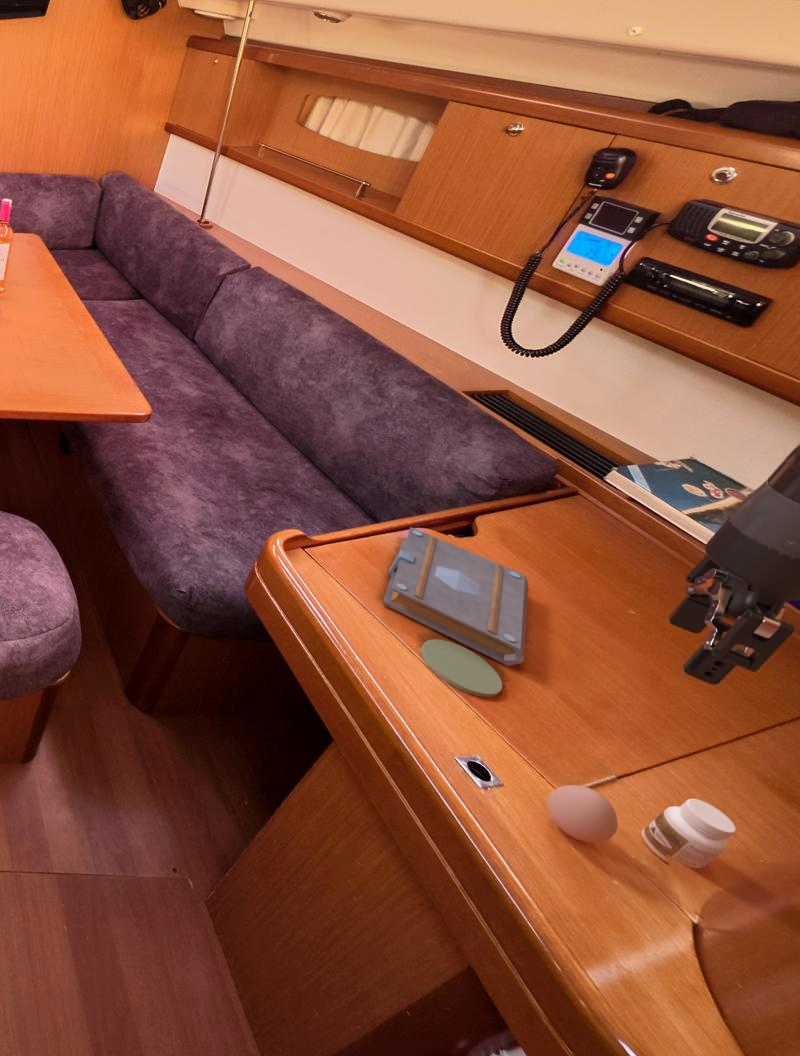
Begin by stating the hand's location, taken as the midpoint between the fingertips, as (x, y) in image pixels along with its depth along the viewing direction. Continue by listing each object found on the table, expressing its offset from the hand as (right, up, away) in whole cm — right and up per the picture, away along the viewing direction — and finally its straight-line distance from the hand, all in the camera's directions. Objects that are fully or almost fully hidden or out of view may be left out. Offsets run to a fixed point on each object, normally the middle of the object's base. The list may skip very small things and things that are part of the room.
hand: (689, 650), depth 66 cm
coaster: (+2, -17, +27) cm, 32 cm away
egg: (-4, -26, +8) cm, 27 cm away
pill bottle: (+6, -27, +6) cm, 28 cm away
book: (+13, -11, +39) cm, 42 cm away
